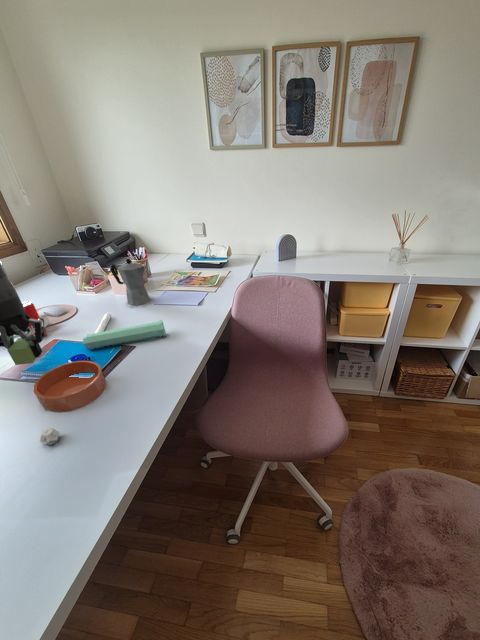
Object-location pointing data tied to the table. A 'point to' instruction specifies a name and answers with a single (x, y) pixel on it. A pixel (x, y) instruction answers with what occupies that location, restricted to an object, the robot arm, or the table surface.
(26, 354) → the sponge
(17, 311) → the robot arm
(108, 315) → the marker
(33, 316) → the beverage can
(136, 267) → the coffeepot
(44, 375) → the basin
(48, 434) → the grey rock
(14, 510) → the table surface
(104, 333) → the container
